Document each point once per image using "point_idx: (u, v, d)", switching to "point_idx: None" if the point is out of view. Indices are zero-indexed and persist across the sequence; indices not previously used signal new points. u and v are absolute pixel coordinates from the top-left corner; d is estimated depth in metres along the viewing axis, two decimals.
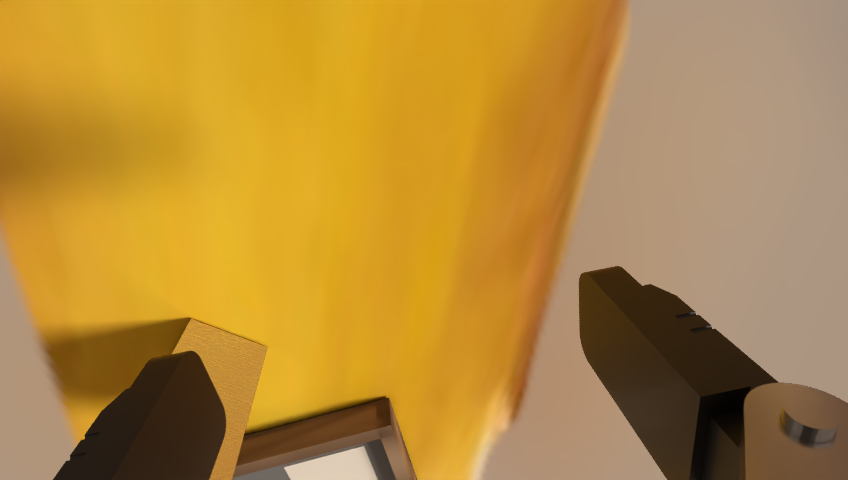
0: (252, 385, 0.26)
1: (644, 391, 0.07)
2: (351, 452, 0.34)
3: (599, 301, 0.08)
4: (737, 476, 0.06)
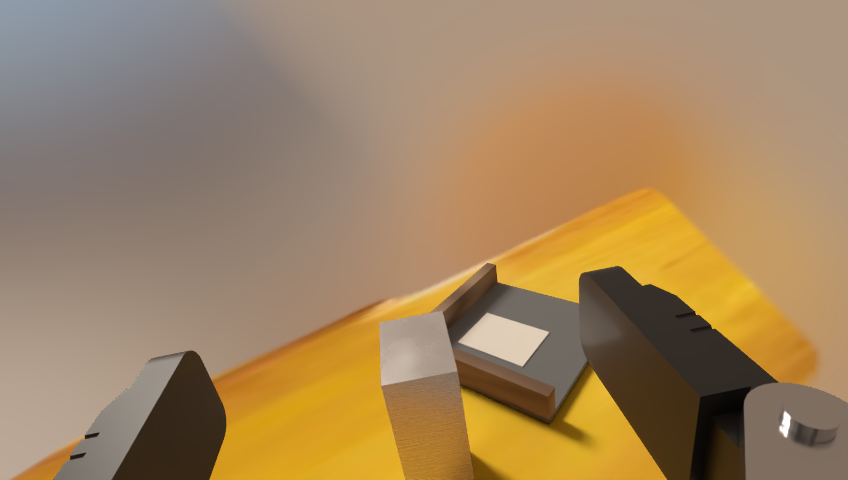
0: None
1: (644, 391, 0.07)
2: (469, 343, 0.39)
3: (599, 301, 0.08)
4: (737, 476, 0.06)
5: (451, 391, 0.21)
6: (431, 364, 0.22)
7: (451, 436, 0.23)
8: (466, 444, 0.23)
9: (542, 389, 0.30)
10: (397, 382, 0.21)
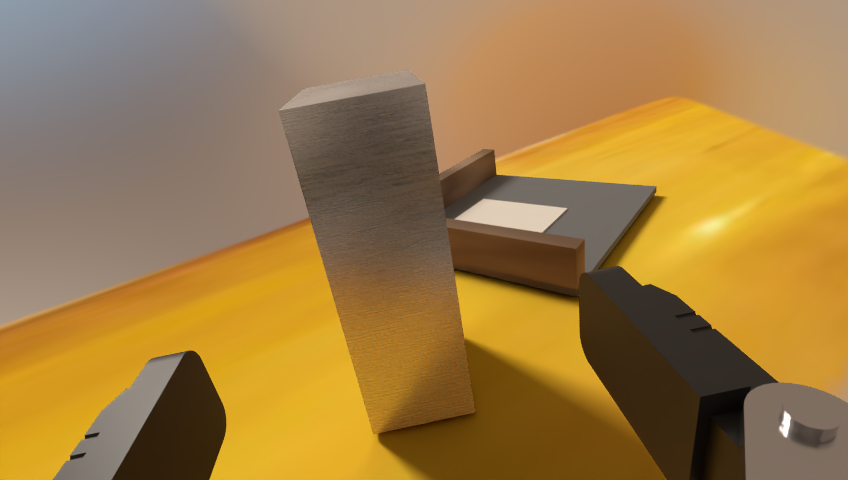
0: None
1: (644, 391, 0.07)
2: None
3: (599, 301, 0.08)
4: (737, 476, 0.06)
5: (415, 134, 0.11)
6: (377, 89, 0.12)
7: (419, 240, 0.13)
8: (448, 258, 0.13)
9: (566, 242, 0.20)
10: (310, 105, 0.11)
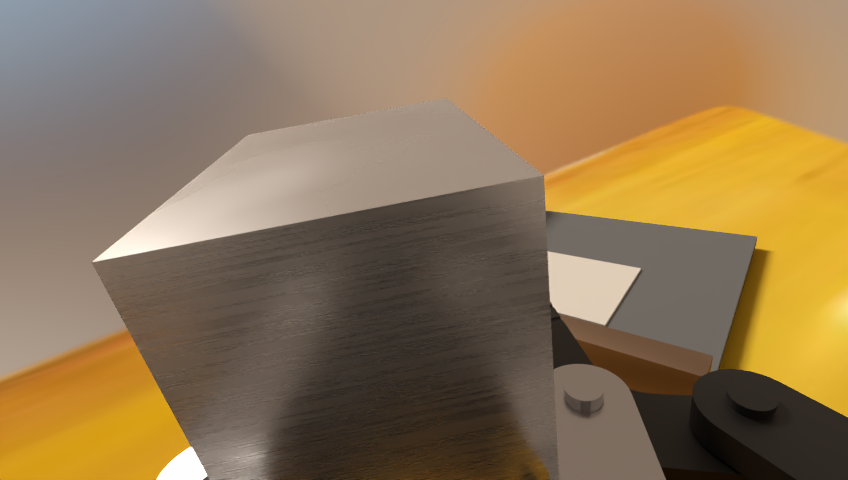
0: None
1: None
2: None
3: None
4: None
5: (503, 306, 0.04)
6: (395, 176, 0.04)
7: None
8: None
9: (684, 361, 0.13)
10: (190, 245, 0.04)
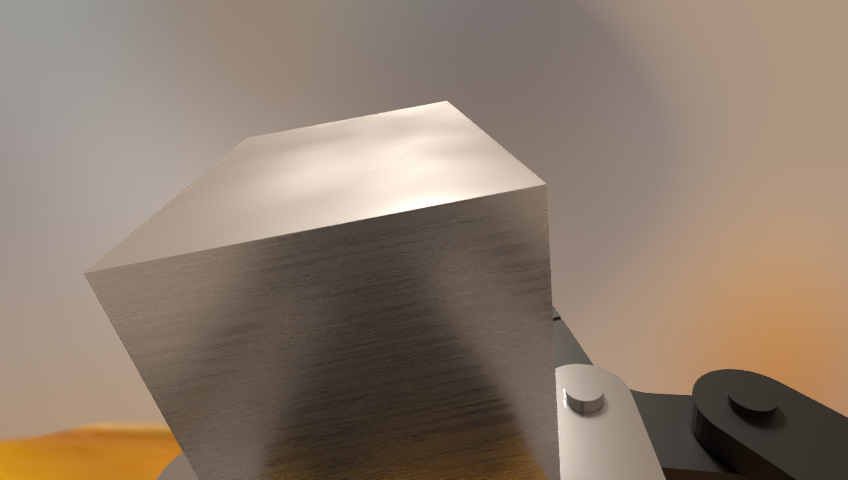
0: None
1: None
2: None
3: None
4: None
5: (504, 317, 0.04)
6: (394, 182, 0.04)
7: None
8: None
9: None
10: (185, 254, 0.03)
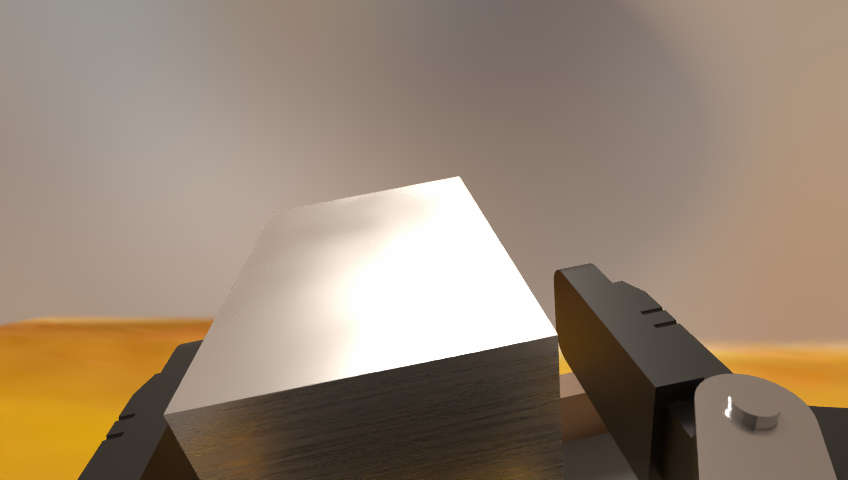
0: None
1: (610, 384, 0.08)
2: None
3: (571, 297, 0.09)
4: (689, 463, 0.06)
5: (519, 434, 0.05)
6: (423, 313, 0.05)
7: None
8: None
9: None
10: (249, 398, 0.04)
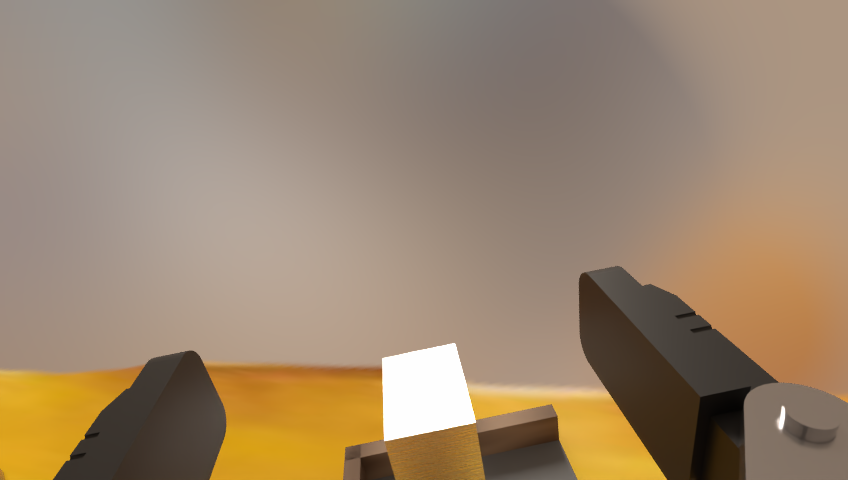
0: None
1: (644, 391, 0.07)
2: None
3: (599, 301, 0.08)
4: (737, 476, 0.06)
5: (468, 445, 0.18)
6: (443, 413, 0.18)
7: None
8: None
9: None
10: (403, 437, 0.17)
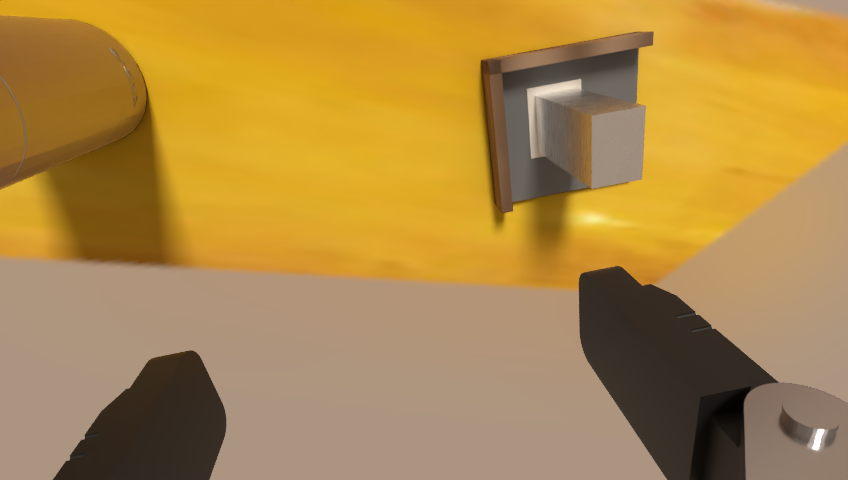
0: (550, 104, 0.36)
1: (644, 391, 0.07)
2: (531, 100, 0.39)
3: (599, 301, 0.08)
4: (737, 476, 0.06)
5: None
6: (626, 172, 0.31)
7: None
8: None
9: (506, 206, 0.41)
10: (602, 186, 0.31)
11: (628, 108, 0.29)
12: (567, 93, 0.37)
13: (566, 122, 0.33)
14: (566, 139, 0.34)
